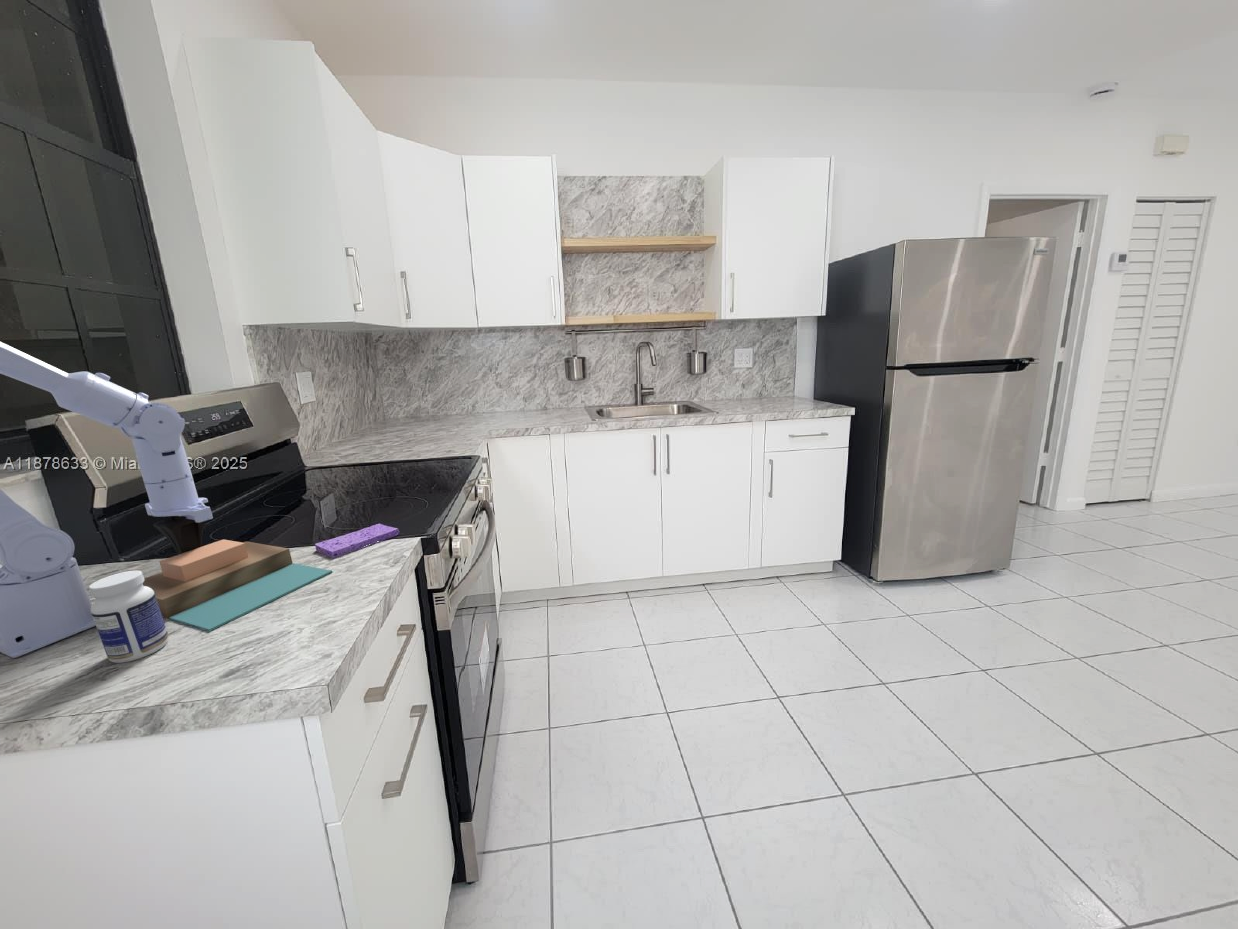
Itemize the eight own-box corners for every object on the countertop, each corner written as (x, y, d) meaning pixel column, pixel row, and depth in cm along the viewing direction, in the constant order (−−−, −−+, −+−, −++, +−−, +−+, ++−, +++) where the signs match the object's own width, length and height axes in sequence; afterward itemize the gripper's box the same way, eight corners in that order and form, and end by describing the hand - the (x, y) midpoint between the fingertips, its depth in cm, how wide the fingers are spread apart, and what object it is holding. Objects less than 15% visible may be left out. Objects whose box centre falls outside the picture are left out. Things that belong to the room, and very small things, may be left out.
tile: (185, 581, 75) (181, 566, 75) (163, 576, 78) (159, 561, 77) (248, 557, 83) (244, 543, 83) (227, 552, 86) (223, 539, 85)
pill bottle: (167, 632, 67) (146, 564, 65) (172, 648, 63) (149, 576, 61) (108, 652, 63) (82, 580, 61) (109, 671, 59) (81, 595, 57)
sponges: (316, 553, 92) (314, 543, 92) (381, 530, 102) (380, 521, 102) (333, 561, 88) (331, 551, 88) (400, 536, 98) (398, 527, 97)
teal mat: (209, 631, 67) (209, 629, 66) (169, 619, 70) (169, 617, 70) (332, 572, 82) (332, 570, 82) (294, 565, 86) (293, 563, 86)
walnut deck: (168, 618, 71) (162, 599, 70) (124, 605, 75) (118, 587, 75) (292, 564, 86) (289, 548, 86) (250, 556, 91) (246, 541, 91)
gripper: (224, 474, 79) (245, 553, 83) (172, 470, 85) (194, 544, 88) (171, 487, 73) (196, 572, 76) (119, 481, 79) (145, 561, 82)
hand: (192, 558), depth 82 cm, fingers closed
